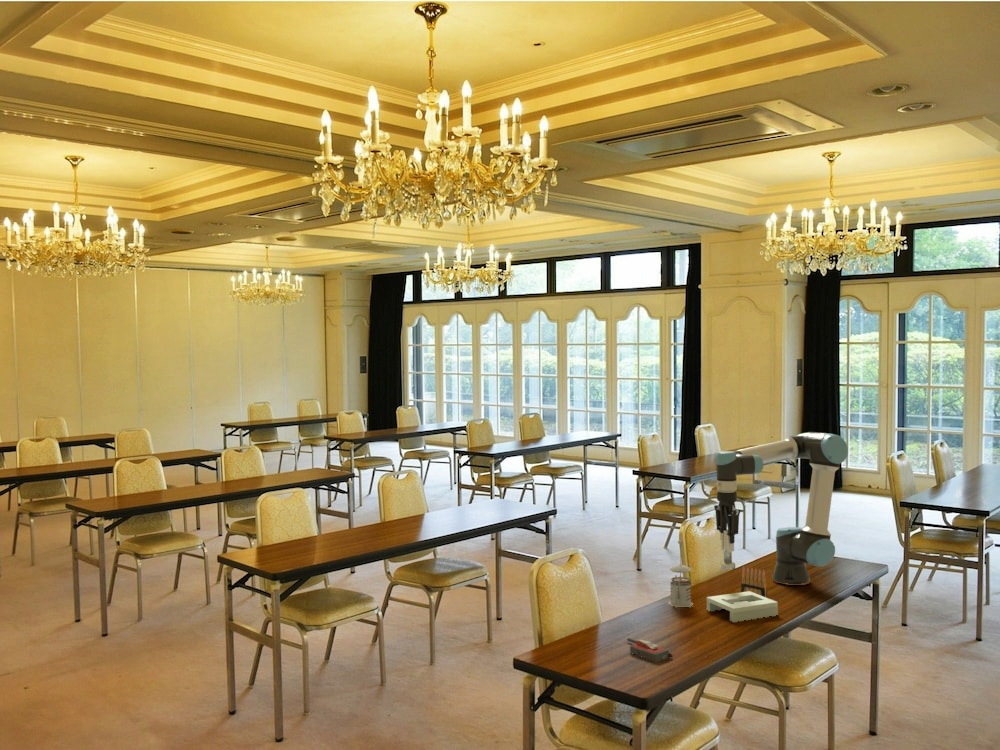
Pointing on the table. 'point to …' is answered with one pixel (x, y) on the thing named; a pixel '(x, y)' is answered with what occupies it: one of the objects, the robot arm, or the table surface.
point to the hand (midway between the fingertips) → (727, 550)
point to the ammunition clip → (754, 582)
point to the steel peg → (727, 555)
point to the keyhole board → (743, 605)
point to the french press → (680, 586)
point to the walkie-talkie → (648, 650)
